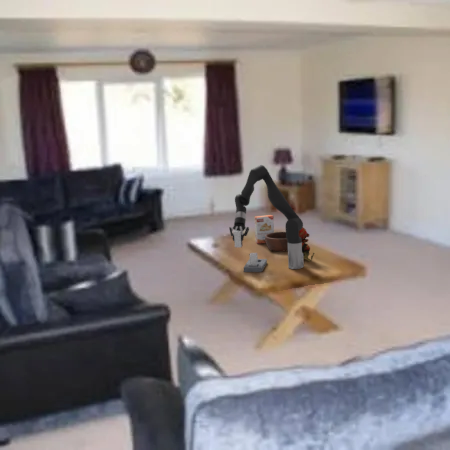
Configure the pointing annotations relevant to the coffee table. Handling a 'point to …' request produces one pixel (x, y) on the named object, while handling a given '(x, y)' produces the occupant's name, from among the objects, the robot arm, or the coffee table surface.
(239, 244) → the block
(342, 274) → the coffee table surface
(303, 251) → the red flower plant
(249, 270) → the grey square hole board
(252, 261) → the block
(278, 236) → the wooden bowl
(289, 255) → the robot arm
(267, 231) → the cracker box
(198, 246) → the coffee table surface
